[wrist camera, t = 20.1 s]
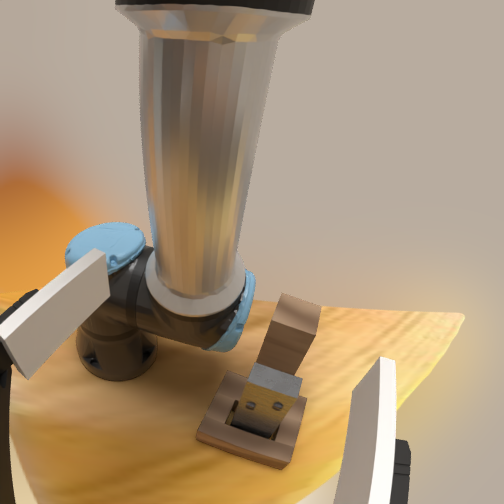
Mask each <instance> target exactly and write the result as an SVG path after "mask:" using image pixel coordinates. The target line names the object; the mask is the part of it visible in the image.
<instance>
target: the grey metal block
mask: <svg viewBox="0 0 504 504" xmlns="http://www.w3.org/2000/svg"><path fill="white" fill-rule="evenodd" d="M301 383H302V378H299V377H296V376H293V375H290V374H287V373H284V372H281V371H278V370H275V369H273V368H270V367H267V366H264V365H261V364H259V363H256V362H255V363H254V366H253V368H252V370H251V373H250V375H249V378H248V380H247V382H246V385H245V388H244V390H243V393H242V396H241V398H240V401H239V404H238V406H237V409H236V411H235V414H234V417H233V419H232V422H231V424H230V426H232V427H235V428H237V429H240V430H243V431H246V432H248V433H251V434H254V435H257V436H260V437H263V438H266V439H269V438H270V437H271V435H272V434H273V433H274V431H275V430H276V429H277V427H278V426H279V424H280V423H281V422H282V420H283V419H284V417H285V416H286V414H287V413H288V412H289V410H290V409H291V407H292V406H293V404H294V403H295V401H296V400H297V398H298V395H299V391H300V387H301Z"/></svg>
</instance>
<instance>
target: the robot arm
mask: <svg viewBox="0 0 504 504" xmlns="http://www.w3.org/2000/svg"><path fill="white" fill-rule="evenodd" d="M314 1H315V0H116V1H115V2H116V3H115V9H116V10H117V11H118V12H120V13H121V14H122V15H123V16H125V17H126V18H127V19H129V20H130V21H131V22H132V23H134V24H135V25H136V26H137V28H138V30H139V31H140V36H139V95H140V121H141V137H142V150H143V151H142V152H143V164H144V174H145V185H146V193H147V201H148V211H149V218H150V226H151V233H152V240H153V246H154V248H153V247H149V246H146V245H145V244H146V240H145V237H144V234H143V232H142V231H141V230H140V229H139V228H138V227H136V226H134V225H132V224H128V223H121V222H111V223H104V224H99V225H97V226H93V227H90V228H88V229H86V230H84V231H82V232H80V233H79V234H78V235H76V236H75V237H74V238H73V239H72V240H71V241H70V243H69V244H68V246H67V249H66V252H65V262H66V270H65V271H63V272H62V273H61V274H59V275H58V276H57V277H56V278H54V279H53V280H52V281H51V282H49V283H48V284H47V285H46V286H44V287H43V288H42V289H41V290H40V291H39V290H37V289H35V290H32V291H30V292H28V293H26V294H25V295H24V296H22V297H21V298H20V299H19V301H16V302H15V303H14V304H13V306H11V307H9V308H8V309H7V310H6V311H5V312H4V313H3V314H1V315H0V504H16V503H15V497H14V490H13V482H12V474H11V461H10V446H9V445H10V444H9V406H10V387H11V375H12V368H11V365H12V364H14V365H15V367H16V368H17V370H18V371H19V372H20V373H21V374H22V375H23V376H24V377H25V378H26V379H27V380H29V379H30V378H31V376H32V375H33V374H34V373H35V372H36V371H37V370H38V369H39V368H40V367H41V366H42V364H43V363H44V362H45V361H46V360H47V359H48V358H49V357H50V356H51V355H52V354H53V353H54V352H55V351H56V350H57V349H58V347H59V346H60V345H61V344H62V343H63V342H64V341H65V340H66V339H67V338H68V337H69V336H70V335H71V334H72V333H73V332H74V331H75V330H76V329H77V328H78V329H77V336H76V346H77V351H78V354H79V356H80V359H81V361H82V363H83V365H84V366H85V367H86V368H87V369H88V370H89V371H90V372H91V373H93V374H94V375H96V376H98V377H100V378H103V379H106V380H111V381H123V380H129V379H132V378H135V377H137V376H139V375H141V374H142V373H144V372H145V371H146V370H147V369H148V368H149V367H150V366H151V365H152V364H153V362H154V360H155V358H156V355H157V336H161V337H164V338H168V339H171V340H174V341H178V342H182V343H185V344H189V345H192V346H196V347H200V348H202V349H203V350H207V351H210V350H213V351H218V352H228V351H230V350H232V349H233V348H234V347H235V345H236V344H237V342H238V340H239V339H240V336H241V334H242V332H243V328H244V325H245V323H246V321H247V318H248V315H249V312H250V308H251V305H252V301H253V296H254V291H255V281H256V280H255V276H254V275H253V273H252V272H250V271H247V270H246V269H245V266H244V263H243V260H242V258H241V256H240V254H239V253H238V251H237V248H238V242H239V237H240V231H241V226H242V221H243V215H244V210H245V204H246V199H247V194H248V189H249V184H250V178H251V173H252V168H253V163H254V158H255V153H256V148H257V142H258V137H259V132H260V127H261V122H262V117H263V112H264V107H265V102H266V97H267V93H268V88H269V83H270V78H271V73H272V68H273V63H274V58H275V54H276V49H277V44H278V40H279V39H280V37H281V36H282V35H283V34H284V33H285V32H287V31H289V30H290V29H292V28H294V27H296V26H298V25H300V24H301V23H303V22H305V21H307V20H309V19H310V17H311V13H312V9H313V5H314ZM156 335H157V336H156ZM395 432H396V367H395V361H394V360H391V359H387V358H384V357H381V356H380V357H379V358H378V360H377V361H376V362H375V364H374V365H373V366H372V367H371V369H370V370H369V371H368V373H367V374H366V375H365V376H364V378H363V379H362V380H361V381H360V382H359V384H358V385H357V386H356V387H355V388H354V390H353V391H352V398H351V407H350V415H349V422H348V429H347V436H346V442H345V448H344V454H343V460H342V465H341V470H340V476H339V481H338V486H337V490H336V494H335V499H334V503H333V504H407V502H408V492H409V480H410V477H409V475H410V464H411V451H410V449H409V445H408V442H407V441H405V440H399V439H395V434H396V433H395Z"/></svg>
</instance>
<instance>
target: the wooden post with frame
mask: <svg viewBox="0 0 504 504" xmlns="http://www.w3.org/2000/svg"><path fill="white" fill-rule="evenodd" d="M320 312H321V306H318V305H316V304H313V303H310V302H307V301H304V300H301V299H298V298H295V297H293V296H290V295H287V294H284V293H282V294H281V297H280V299H279V302H278V304H277V307H276V309H275V312H274V315H273V317H272V320H271V322H270V325H269V328H268V331H267V334H266V336H265V339H264V342H263V345H262V347H261V350H260V353H259V355H258V358H257V361H256V363H259V364H261V365H264V366H267V367H270V368H273V369H275V370H278V371H281V372H284V373H287V374H290V375H293V376H294V375H295V373H296V371H297V369H298V368H299V366H300V364H301V362H302V360H303V358H304V357H305V355H306V353H307V351H308V349H309V347H310V345H311V343H312V342H313V340H314V338H315V336H316V332H317V327H318V322H319V317H320ZM247 380H248V378H247V377H244V376H241V375H239V374H236V373H233V372H231V371H228V370H227V372H226V374H225V376H224V378H223V380H222V382H221V384H220V386H219V388H218V390H217V392H216V394H215V396H214V398H213V400H212V402H211V404H210V406H209V408H208V410H207V412H206V414H205V416H204V418H203V420H202V422H201V424H200V426H199V428H198V430H197V436H196V440H199V441H201V442H204V443H206V444H208V445H211V446H213V447H216V448H218V449H221V450H224V451H226V452H229V453H232V454H234V455H237V456H240V457H243V458H246V459H249V460H252V461H255V462H258V463H261V464H265V465H268V466H271V467H275V468H278V469H283V468H284V467H285V466H287V465H288V464H289V463H290V461H291V457H292V454H293V450H294V447H295V443H296V440H297V436H298V432H299V429H300V425H301V421H302V417H303V413H304V409H305V405H306V401H307V398H305V397H302V396H299V395H298V398H297V400H296V401H295V403H294V404H293V406H292V407H291V409H290V410H289V412H288V413H287V414H286V416H285V417H284V419H283V420H282V422H281V423H280V424H279V426H278V427H277V429H276V430H275V431H274V433H273V436H272V439H271V440H269V439H266V438H263V437H260V436H257V435H254V434H251V433H248V432H246V431H243V430H240V429H237V428H235V427H232V426H229V425H227V424H225V423H226V421H227V419H228V417H229V415H230V412H231V411H234V412H235V411H236V409H237V406H238V404H239V401H240V398H241V396H242V393H243V390H244V388H245V385H246V382H247Z"/></svg>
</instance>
